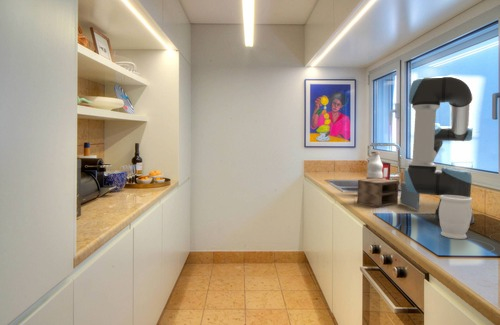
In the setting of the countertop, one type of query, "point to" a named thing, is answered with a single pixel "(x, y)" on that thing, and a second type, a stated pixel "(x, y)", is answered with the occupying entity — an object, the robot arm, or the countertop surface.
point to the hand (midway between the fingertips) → (409, 189)
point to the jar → (455, 215)
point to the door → (409, 198)
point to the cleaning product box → (386, 170)
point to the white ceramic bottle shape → (375, 166)
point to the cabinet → (377, 192)
